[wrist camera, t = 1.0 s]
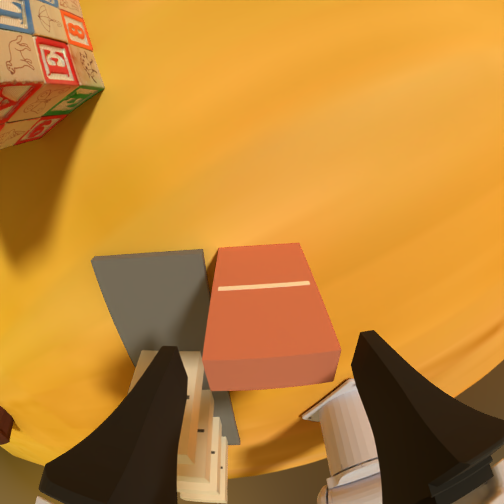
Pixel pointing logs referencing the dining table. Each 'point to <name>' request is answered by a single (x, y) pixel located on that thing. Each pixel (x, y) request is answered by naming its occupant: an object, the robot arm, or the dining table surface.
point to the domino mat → (162, 309)
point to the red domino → (267, 322)
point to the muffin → (5, 426)
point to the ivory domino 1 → (192, 408)
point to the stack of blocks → (42, 67)
